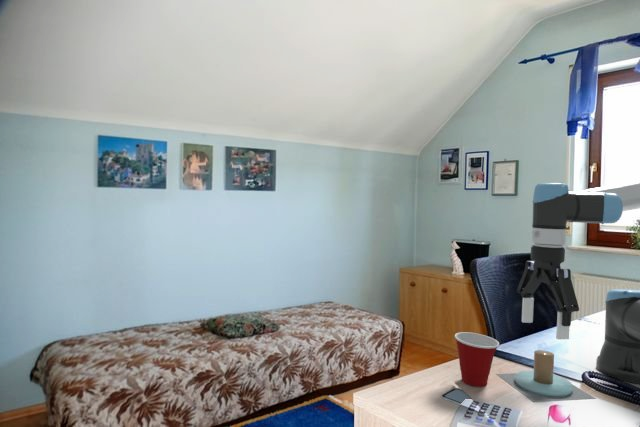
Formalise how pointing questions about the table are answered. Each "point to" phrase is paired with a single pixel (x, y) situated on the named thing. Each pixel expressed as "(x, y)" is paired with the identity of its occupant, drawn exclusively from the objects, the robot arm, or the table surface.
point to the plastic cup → (475, 357)
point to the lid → (543, 377)
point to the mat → (575, 395)
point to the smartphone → (455, 396)
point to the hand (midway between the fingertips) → (543, 330)
